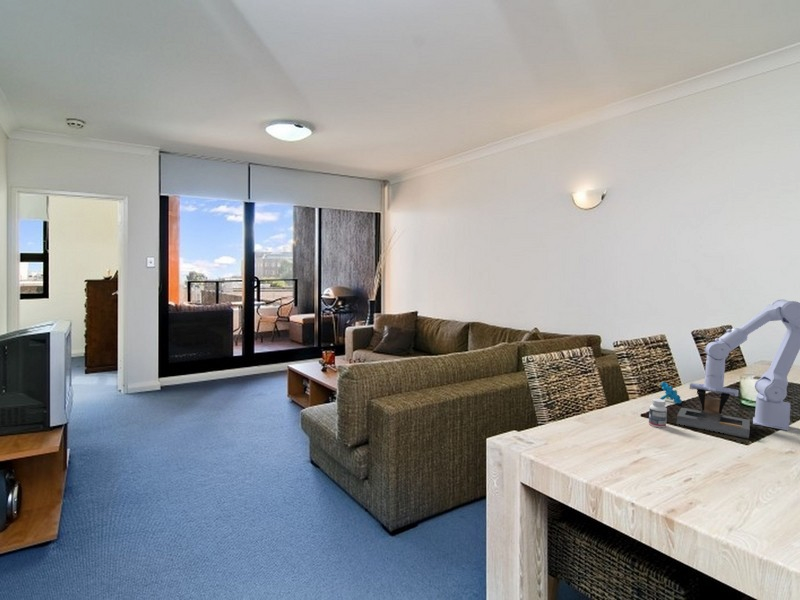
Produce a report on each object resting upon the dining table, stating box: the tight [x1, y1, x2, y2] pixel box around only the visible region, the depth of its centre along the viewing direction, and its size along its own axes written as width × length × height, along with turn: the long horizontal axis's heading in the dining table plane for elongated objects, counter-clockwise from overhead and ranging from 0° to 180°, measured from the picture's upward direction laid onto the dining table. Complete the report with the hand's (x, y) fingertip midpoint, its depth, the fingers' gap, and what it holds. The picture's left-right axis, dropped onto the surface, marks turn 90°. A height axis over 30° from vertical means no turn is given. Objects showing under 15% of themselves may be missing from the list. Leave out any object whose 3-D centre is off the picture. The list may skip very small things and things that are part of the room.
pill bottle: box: [648, 398, 668, 429], centre depth 154 cm, size 5×5×9 cm
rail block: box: [676, 407, 751, 439], centre depth 155 cm, size 20×12×3 cm, turn 52°
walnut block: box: [703, 395, 721, 414], centre depth 164 cm, size 4×4×7 cm
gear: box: [659, 381, 683, 405], centre depth 184 cm, size 11×6×10 cm
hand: (711, 411), depth 164 cm, fingers closed on walnut block, 4 cm apart
